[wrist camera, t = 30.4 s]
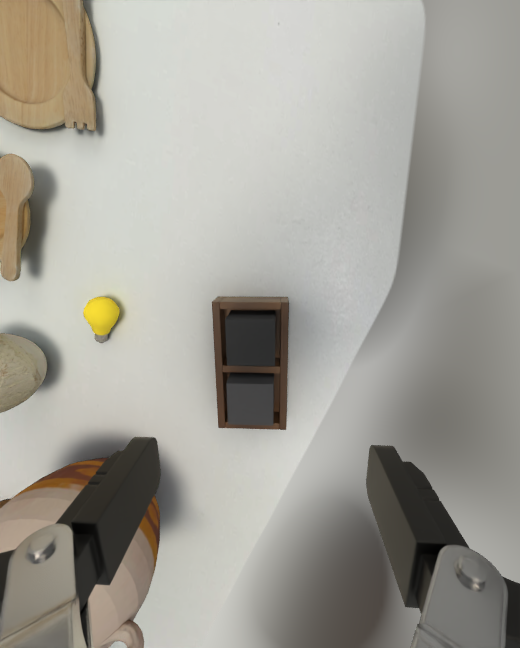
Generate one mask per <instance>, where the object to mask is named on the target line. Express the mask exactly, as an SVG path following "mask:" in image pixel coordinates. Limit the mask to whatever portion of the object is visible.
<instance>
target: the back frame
mask: <svg viewBox="0 0 520 648" xmlns="http://www.w3.org/2000/svg"><path fill="white" fill-rule="evenodd" d="M231 310H275V311H276V318H275V366H229V365H227V356H226V333H225V319H226V317H227V316H228V314H229V313H230V311H231ZM212 312H213V331H214V350H215V370H216V389H217V408H218V427H219V428H225V427H226V428H247V429H280V430H286V418H287V368H288V319H289V301H288V297H217V298H216V299H215V300H214V301H213V302H212ZM230 372H239V373H274V418H273V426H267V425H233V424H228V412H227V389H226V383H227V380H228V378H229V375H230Z"/></svg>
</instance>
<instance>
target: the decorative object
mask: <svg viewBox="0 0 520 648" xmlns="http://www.w3.org/2000/svg"><path fill="white" fill-rule="evenodd" d="M46 372H47V361H46V358H45V355H44V353H43V352H42V350H41V349H40V348H39V347H38V346H37V345H36V344H35V343H33V342H32V341H30V340H28V339H26V338H23V337H20V336H16V335H11V334H5V333H0V413H1V412H4V411H7V410H9V409H11V408H13V407H15V406H17V405H19V404H21V403H22V402H24V401H25V400H27V399H28V398H29V397H30V396H32V395H33V394H34V393H35V391H36V390H37V389H38V388H39V387H40V385H41V384H42V383H43V381H44V379H45V376H46Z"/></svg>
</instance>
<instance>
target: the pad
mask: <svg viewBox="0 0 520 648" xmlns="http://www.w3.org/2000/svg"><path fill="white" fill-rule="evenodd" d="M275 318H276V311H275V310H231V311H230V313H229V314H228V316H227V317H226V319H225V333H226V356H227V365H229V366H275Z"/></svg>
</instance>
